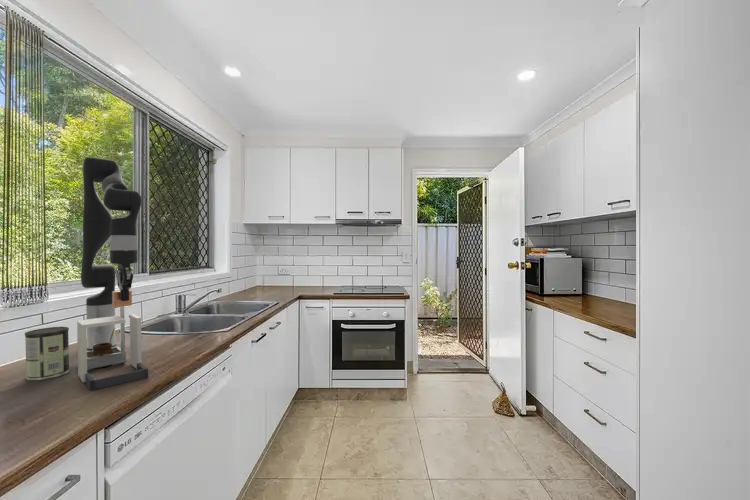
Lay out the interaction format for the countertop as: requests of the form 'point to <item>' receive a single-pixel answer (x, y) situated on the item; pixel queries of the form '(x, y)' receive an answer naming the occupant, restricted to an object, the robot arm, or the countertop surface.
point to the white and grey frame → (84, 324)
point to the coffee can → (47, 353)
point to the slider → (118, 352)
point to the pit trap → (116, 378)
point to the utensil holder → (102, 348)
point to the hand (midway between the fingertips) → (124, 300)
